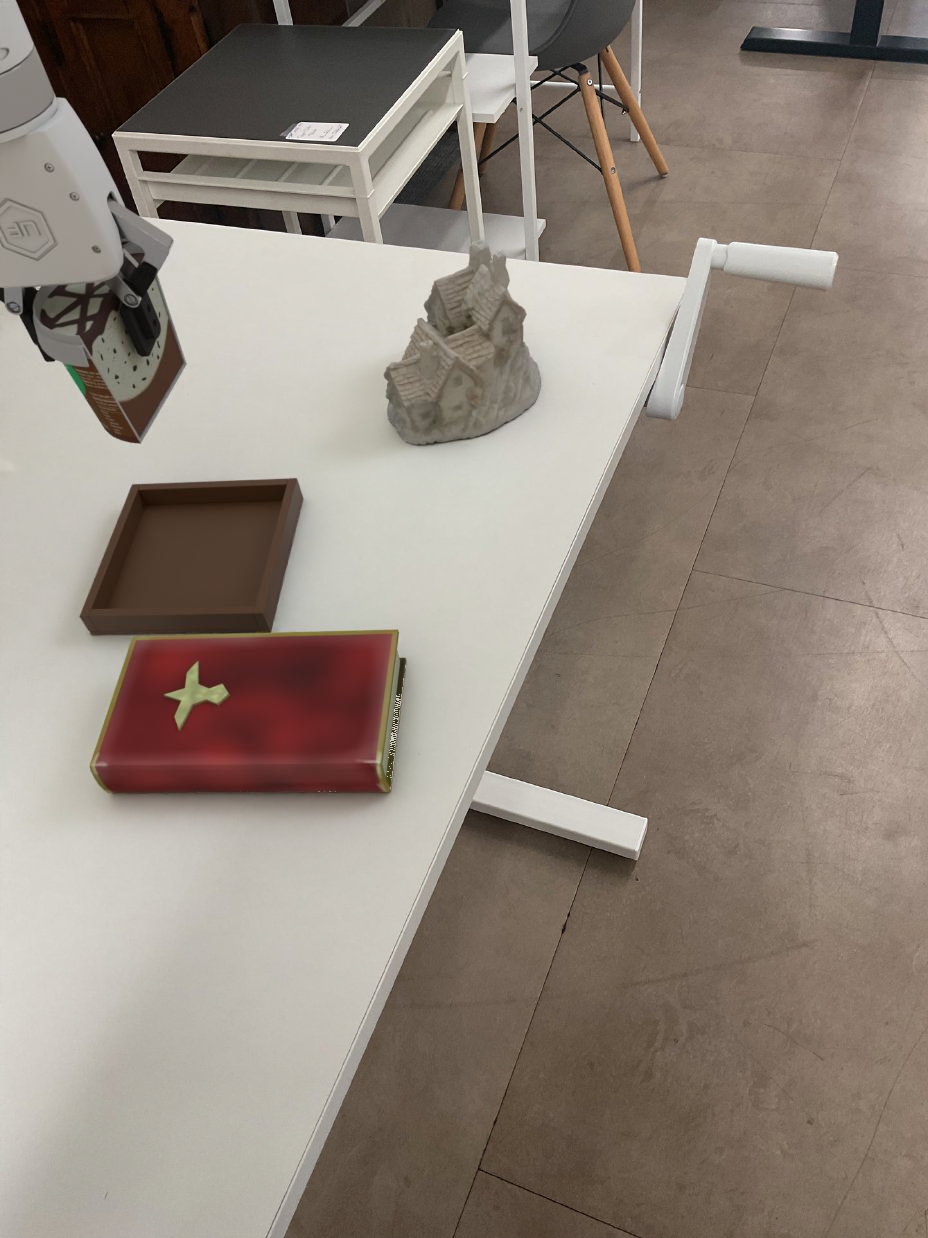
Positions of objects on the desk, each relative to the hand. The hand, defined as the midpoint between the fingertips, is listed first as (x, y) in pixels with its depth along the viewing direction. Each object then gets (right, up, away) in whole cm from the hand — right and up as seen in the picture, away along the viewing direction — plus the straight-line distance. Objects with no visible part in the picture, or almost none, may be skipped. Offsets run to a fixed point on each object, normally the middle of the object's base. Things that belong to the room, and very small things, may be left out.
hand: (102, 345), depth 73 cm
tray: (+3, -15, +15) cm, 21 cm away
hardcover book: (+11, -28, +3) cm, 30 cm away
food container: (+1, -3, +4) cm, 5 cm away
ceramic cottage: (+26, +3, +27) cm, 37 cm away
